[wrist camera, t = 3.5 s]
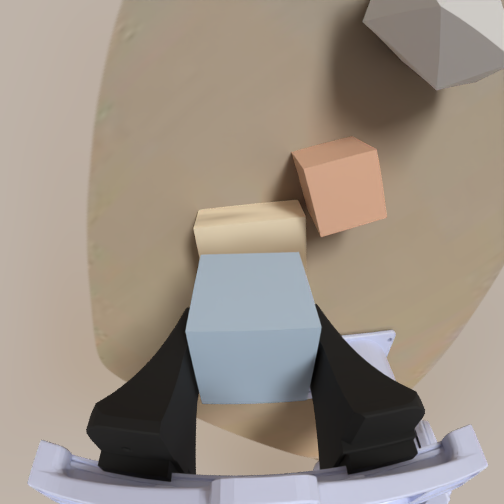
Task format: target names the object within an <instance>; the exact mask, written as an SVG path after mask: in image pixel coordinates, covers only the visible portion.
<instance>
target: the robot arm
mask: <svg viewBox="0 0 504 504" xmlns="http://www.w3.org/2000/svg"><path fill="white" fill-rule="evenodd" d="M315 306H316V310H317V313H318V317H319V320H320V324H321V327H322V328H321V333H320V339H319V344H318V349H317V354H316V360H315V365H314V369H313V374H312V379H311V384H310V388H309V393H308V397H307V399H313V404H314V412H315V420H316V429H317V439H318V450H319V461H318V462H317V463H316V464H315V466H314V469H313V471H308V472H298V473H286V474H272V475H249V476H220V475H219V476H217V475H196V458H195V455H196V454H195V453H196V452H195V451H196V449H195V447H196V413H197V401H198V394H199V389H198V385H197V381H196V376H195V372H194V368H193V364H192V359H191V355H190V350H189V346H188V341H187V336H186V332H185V331H186V326H187V320H188V315H189V310H190V308H186V309H185V311H184V313H183V315H182V316H181V318H180V320H179V321H178V323H177V325H176V326H175V328H174V329H173V331H172V332H171V334H170V335H169V337H168V338H167V340H166V341H165V342H164V344H163V345H162V346H161V348H160V349H159V350H158V351H157V353H156V354H155V355H154V356H153V357H152V359H151V360H150V361H149V362H148V363H147V364H146V365H145V366H144V367H143V368H142V369H141V370H140V371H139V372H138V373H137V374H136V375H135V376H134V377H133V378H132V379H130V380H129V381H128V382H127V383H125V384H124V385H123V386H122V387H121V388H119V389H118V390H117V391H115V392H114V393H112V394H111V395H109V396H107V397H106V398H104V399H103V400H101V401H99V402H97V403H96V405H95V407H94V409H93V411H92V413H91V416H90V419H89V423H88V426H87V429H86V430H87V434H88V436H89V437H90V439H91V440H92V441H93V442H94V443H95V444H96V445H97V446H98V448H99V449H100V450H101V454H100V458H99V461H95V460H91V459H87V458H82V457H79V456H75V455H72V454H71V453H70V451H69V450H68V449H66V448H65V447H63V446H60V445H57V444H54V443H51V442H47V441H44V440H41V441H40V444H39V447H38V450H37V453H36V457H35V459H34V463H33V466H32V469H31V472H30V476H29V479H28V485H29V486H31V487H32V488H34V489H35V490H37V491H38V492H40V493H41V494H43V495H45V496H46V497H48V498H50V499H51V500H53V501H55V502H57V503H59V504H448V502H449V501H450V494H451V493H452V490H454V489H456V488H458V487H460V486H461V485H463V484H465V483H466V482H467V481H469V480H470V479H472V478H473V477H475V476H476V475H477V474H479V473H480V472H481V471H483V470H484V469H485V468H486V467H487V466H488V464H487V461H486V458H485V456H484V453H483V451H482V448H481V446H480V444H479V441H478V439H477V437H476V434H475V432H474V430H473V427H472V425H470V424H469V425H467V426H464V427H461V428H459V429H456V430H454V431H451V432H450V433H448V434H447V435H446V436H445V437H444V438H443V439H442V441H440V442H437V441H436V438H435V436H434V433H433V431H432V428H431V426H430V424H429V422H428V421H426V420H422V418H423V416H424V414H425V409H424V406H423V404H422V402H421V399H420V398H419V396H418V394H417V392H416V391H414V390H412V389H410V388H408V387H406V386H404V385H402V384H400V383H398V382H396V380H395V377H394V375H393V372H392V370H391V367H390V365H389V363H388V360H387V355H388V353H389V350H390V348H391V345H392V343H393V340H394V338H395V335H396V334H395V332H394V330H387V331H379V332H371V333H362V334H353V335H343V336H341V335H340V334H339V333H338V331H337V330H336V329H335V328H334V327H333V325H332V324H331V323H330V321H329V320H328V319H327V317H326V316H325V315H324V313H323V312H322V311H321V309H320V308H319V306H318V305H317V304H315Z"/></svg>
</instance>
